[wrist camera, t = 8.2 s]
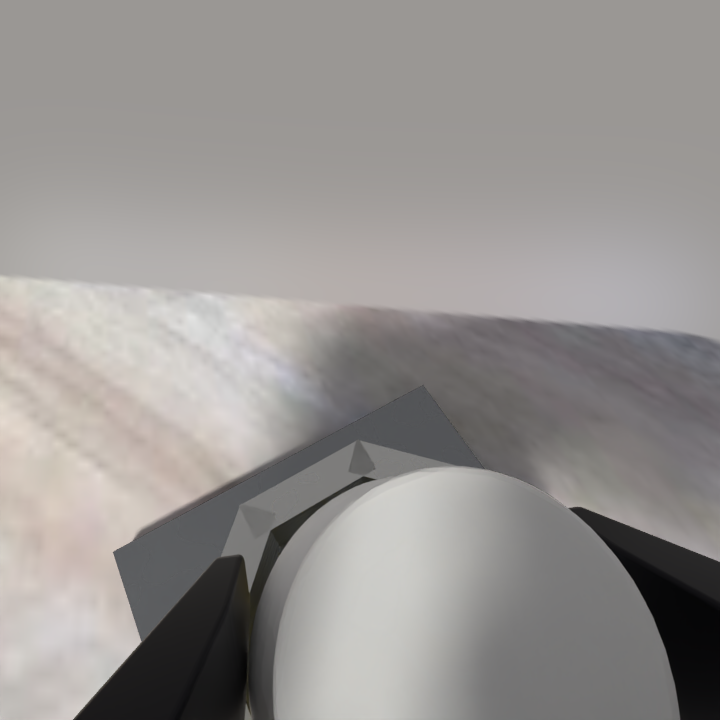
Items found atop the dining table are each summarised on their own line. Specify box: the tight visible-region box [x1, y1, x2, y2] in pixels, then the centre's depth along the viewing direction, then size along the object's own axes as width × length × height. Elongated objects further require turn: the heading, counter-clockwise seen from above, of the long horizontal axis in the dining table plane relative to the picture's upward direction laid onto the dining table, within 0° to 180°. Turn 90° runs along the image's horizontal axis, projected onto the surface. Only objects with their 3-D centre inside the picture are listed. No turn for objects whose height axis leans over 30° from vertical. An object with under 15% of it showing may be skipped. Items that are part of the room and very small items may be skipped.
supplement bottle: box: [248, 466, 680, 720], centre depth 9 cm, size 5×5×10 cm
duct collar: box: [113, 385, 484, 720], centre depth 13 cm, size 12×12×4 cm
